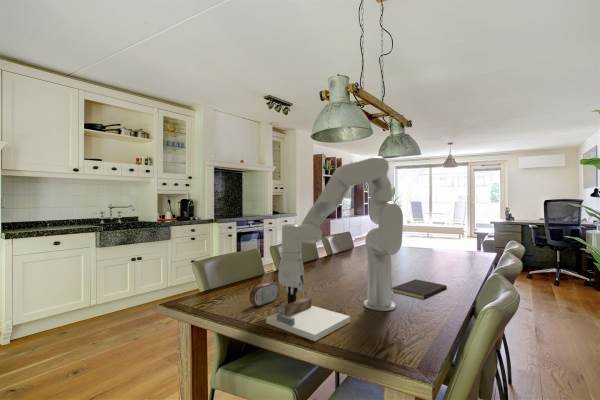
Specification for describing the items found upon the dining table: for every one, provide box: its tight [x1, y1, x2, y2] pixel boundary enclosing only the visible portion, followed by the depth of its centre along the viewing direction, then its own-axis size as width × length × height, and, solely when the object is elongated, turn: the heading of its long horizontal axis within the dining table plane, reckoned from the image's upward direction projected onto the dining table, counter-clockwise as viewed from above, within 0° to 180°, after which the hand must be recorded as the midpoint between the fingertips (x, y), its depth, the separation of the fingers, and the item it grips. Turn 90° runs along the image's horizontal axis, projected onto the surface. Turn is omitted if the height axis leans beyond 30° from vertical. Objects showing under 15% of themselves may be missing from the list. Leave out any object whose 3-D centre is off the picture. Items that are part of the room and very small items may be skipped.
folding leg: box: [278, 297, 312, 316], centre depth 116 cm, size 16×3×4 cm, turn 139°
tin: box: [248, 281, 279, 307], centre depth 132 cm, size 15×3×8 cm, turn 141°
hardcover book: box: [392, 278, 448, 300], centre depth 150 cm, size 16×23×2 cm
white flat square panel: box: [265, 305, 351, 342], centre depth 111 cm, size 20×22×4 cm
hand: (291, 303), depth 122 cm, fingers closed
